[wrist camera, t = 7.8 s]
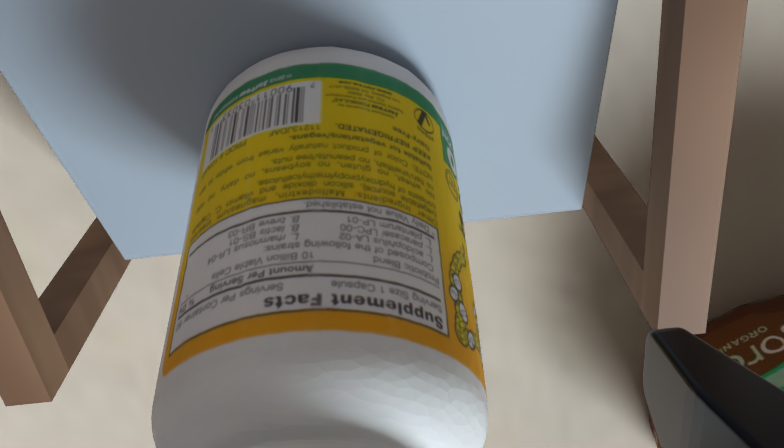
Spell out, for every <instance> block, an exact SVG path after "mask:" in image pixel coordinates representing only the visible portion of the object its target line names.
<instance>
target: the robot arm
mask: <svg viewBox="0 0 784 448" xmlns="http://www.w3.org/2000/svg"><path fill="white" fill-rule="evenodd" d="M643 388H644V394H645V398H646V401H647V404H648V407H649V410H650V413H651V416H652V419H653V423H654V426H655V429H656V432H657V435H658V438H659V441H660V444H661V447H662V448H784V391H783V390H782V389H780V388H779V387H777V386H775V385H774V384H772V383H771V382H769V381H767V380H766V379H764V378H763V377H761V376H759V375H758V374H756V373H755V372H753V371H751V370H750V369H748V368H747V367H745V366H743V365H742V364H740V363H739V362H737V361H735V360H734V359H732V358H730V357H729V356H727V355H726V354H724V353H722V352H721V351H719V350H718V349H716V348H714V347H713V346H711V345H710V344H708V343H706V342H705V341H703V340H702V339H700V338H698V337H697V336H695V335H694V334H692V333H690V332H689V331H687V330H685V329H683V328H680V327H674V328H665V329H655V330H652V331H650V332H649V333H648V335H647V338H646V344H645V358H644V371H643Z"/></svg>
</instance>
